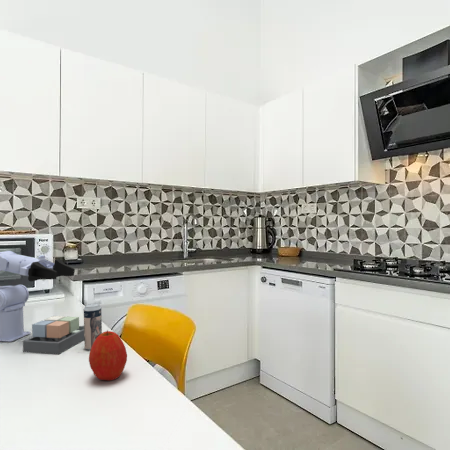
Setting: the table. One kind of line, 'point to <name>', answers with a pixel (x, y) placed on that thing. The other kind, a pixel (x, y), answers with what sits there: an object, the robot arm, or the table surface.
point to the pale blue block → (40, 328)
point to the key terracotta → (57, 329)
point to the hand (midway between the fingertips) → (65, 273)
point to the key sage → (71, 323)
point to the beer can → (92, 324)
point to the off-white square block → (54, 318)
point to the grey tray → (53, 343)
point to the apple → (108, 356)
